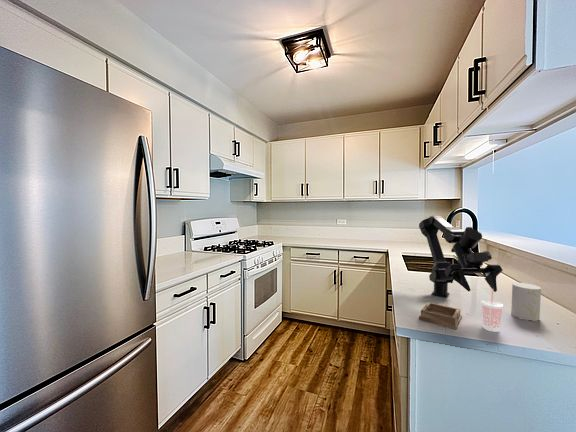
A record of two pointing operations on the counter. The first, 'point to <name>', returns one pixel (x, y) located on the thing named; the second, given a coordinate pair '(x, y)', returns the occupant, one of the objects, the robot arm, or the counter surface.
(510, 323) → the counter surface
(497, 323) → the beverage cup
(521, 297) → the grey upright cylinder
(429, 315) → the tray
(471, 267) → the robot arm
